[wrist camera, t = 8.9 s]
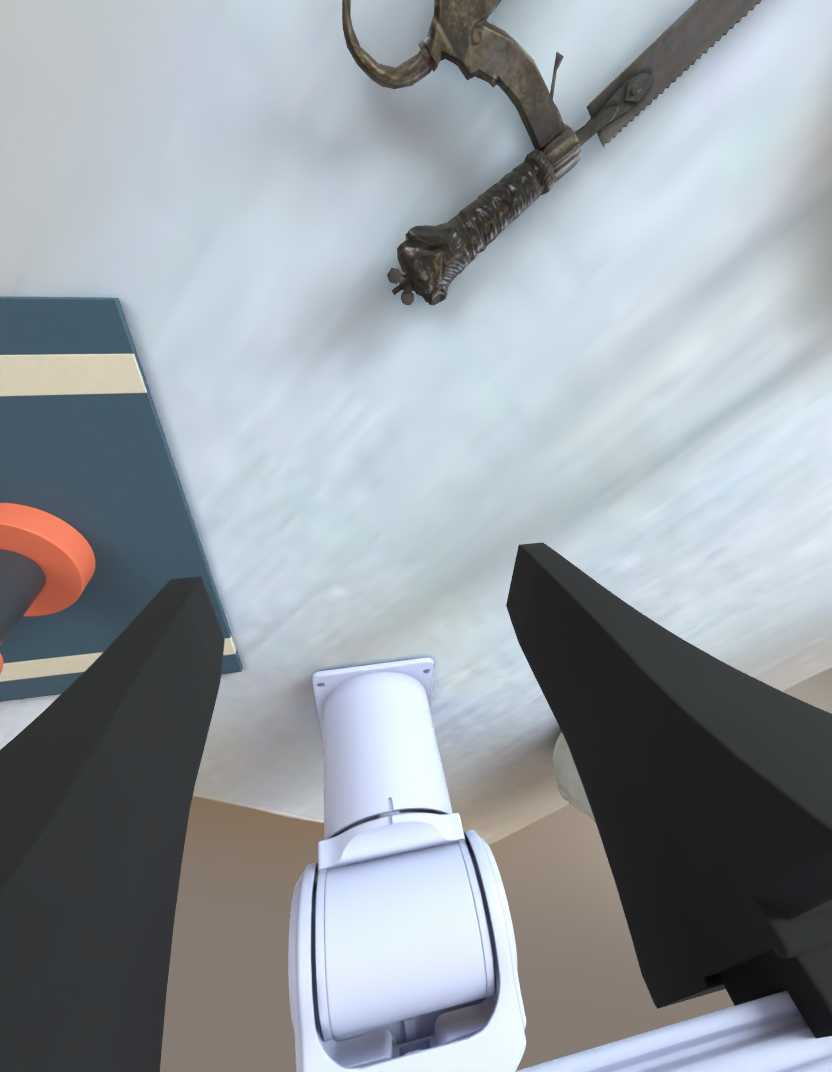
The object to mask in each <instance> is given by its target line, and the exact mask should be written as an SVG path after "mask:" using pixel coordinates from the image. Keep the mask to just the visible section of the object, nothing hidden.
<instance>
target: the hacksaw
mask: <svg viewBox="0 0 832 1072" xmlns="http://www.w3.org/2000/svg"><path fill="white" fill-rule="evenodd" d="M500 1H501V0H435V9H434V17H433V20H432V23H431V26H430V30H429V33H428V36H427V38H425V39H424V40H423V41H422V42H421V43H419V44H418V45H419V47H420V48H421V50H420V51H419V53H418V54H417V55H415V56H414V57H412V58H411V59H409V60H407V61H406V62H404V63H402V64H401V65H399V66H397V67H396V68H394V67H390V66H386V65H382V64H378V63H377V62H376V61H375V60H374V59H373V58H372V57H371V56H370V55H369V54H368V53H367V52H366V51H365V50H363V49H362V48H361V47H360V45H359V42H358V40H357V38H356V35H355V33H354V30H353V27H352V22H351V17H350V3H351V0H342V21H343V31H344V35H345V39H346V44H347V48H348V49H349V51H350V53H351V55H352V56H353V58H354V60H355V62H356V63H357V65H358V66H359V67H360V68H361V69H362V70H363V71H364V72H365V73H366V74H367V75H368V76H369V77H370V78H371V79H372V80H373V81H375V82H376V83H378V84H379V85H381V86H382V87H387V88H392V89H397V88H402V87H407V86H412V85H414V84H415V83H416V82H418V81H419V80H421V79H422V78H423V77H425V76H426V75H428V74H429V73H430V72H431V71H432V70H433V71H435V69H436V68H437V66H438V64H439V62H440V60H443V59H447V60H449V61H451V62H453V63H454V64H456V65H457V66H458V67H459V68H460V70H461V71H462V73H463V75H464V76H465V78H466V79H467V80H469V79H470V78H472V77H474V76H476V77H478V78H480V79H482V80H485V81H487V82H489V83H490V85H491V86H492V87H494V86H495V85H496V84H497V85H499V86H500V88H501V89H502V90H503V91H504V92H505V93H506V94H507V96H508V97H509V98H510V100H511V101H512V102H513V104H514V105H515V107H516V108H517V110H518V112H519V115H520V117H521V119H522V121H523V123H524V125H525V128H526V130H527V132H528V134H529V136H530V139H531V141H532V143H533V145H534V148H535V150H533V151H532V152H531V153H529V154H528V155H527V156H526V158H525V161H524V162H523V163H522V164H520V165H519V166H517V167H516V168H514V169H513V171H512V172H510V173H508V174H506V175H505V176H504V177H503V178H502V179H501V180H500V181H499V182H498V183H496V184H494V185H493V186H492V187H491V188H489V189H488V190H487V191H486V192H485V193H484V194H482V195H480V196H479V198H478V199H477V200H475V201H474V202H472V203H471V204H469V205H468V206H466V207H465V208H464V209H463V210H461V211H460V213H459V214H458V215H457V216H456V217H454V218H453V219H451V220H450V221H449V222H447V223H444V224H441V225H437V226H416V227H414V228H412V229H410V230H409V231H408V233H407V234H406V241H405V242H403V243H402V244H400V246H399V247H398V248H397V255H398V261H399V263H400V266H401V268H402V271H403V272H404V273H403V274H402V273H400V272H399V270H398V269H394V268H391V270H390V271H389V273H388V275H387V276H388V279H389V281H390V282H392V283H395V284H397V283H398V282H399V283H400V285H398V286H397V287H396V288H394V289H393V290H392V292H393V294H394V295H395V294H396V293H398V292H399V291H401V290H402V289H403V290H404V292H403V293H402V295H401V300H402V303H404V304H405V305H410V304H411V303H412V302H413V301H414V295H413V293H412V292H411V291H415V292H416V294H418V295H420V296H422V297H423V298H424V299H425V301H426V302H428V303H429V304H430V305H435V304H437V303H439V302H441V301H443V300H444V299H446V296H447V290H448V286H449V284H450V283H451V282H452V280H453V279H454V278H455V277H456V276H457V275H458V274H460V273H461V272H462V271H463V270H464V268H465V267H466V266H467V265H468V264H469V263H470V262H471V261H472V260H473V259H475V257H476V256H477V254H478V253H480V252H482V251H484V250H485V248H486V246H487V245H488V244H489V243H491V242H492V241H493V240H494V239H495V238H496V237H497V235H498V234H499V233H500V232H501V231H503V230H504V229H505V228H506V226H507V225H508V224H509V223H511V222H512V221H513V220H514V219H516V218H517V217H518V216H519V215H520V214H521V213H522V212H523V211H524V210H525V209H526V208H527V207H528V206H530V205H531V204H532V203H533V202H534V201H535V200H536V199H537V198H538V197H539V196H540V195H543V194H545V193H547V192H548V191H549V190H550V189H551V187H552V185H553V183H554V182H556V181H557V180H559V179H560V178H562V177H563V176H564V175H565V174H566V173H567V172H568V171H570V170H571V169H572V168H573V167H574V166H575V165H576V164H577V162H578V161H579V159H580V158H581V146H582V145H583V144H584V143H585V142H586V141H587V140H588V139H590V138H591V137H592V136H593V135H594V134H595V133H596V132H597V133H598V136H599V138H600V140H601V143H602V145H603V148H604V146H605V143H609V142H610V140H611V138H612V137H615V136H616V134H617V132H621V130H622V128H623V127H626V126H627V125H628V122H629V121H633V119H634V117H635V116H638V115H639V113H640V111H641V110H645V108H646V105H650V104H651V102H652V100H653V99H657V97H658V95H659V94H663V92H664V89H665V88H669V86H670V84H671V82H675V81H676V79H677V77H679V76H681V75H682V73H683V71H687V70H688V69H689V67H690V65H694V63H695V61H696V59H700V58H701V56H702V54H703V53H707V51H708V49H709V47H713V46H714V44H715V42H716V41H720V39H721V37H722V35H726V34H727V32H728V30H729V29H733V27H734V25H735V23H739V22H740V20H741V18H742V17H744V16H747V14H748V12H749V10H753V9H754V7H755V5H756V4H760V2H761V0H697V1H696V2H695V3H694V4H693V5H692V6H691V7H690V8H689V9H688V10H687V11H686V12H685V13H684V14H683V15H682V16H681V17H680V18H679V19H678V20H677V21H676V22H674V23H673V24H672V25H671V26H670V27H669V28H668V29H667V30H666V31H665V32H664V33H663V34H662V35H661V36H660V37H659V38H658V39H657V40H656V41H655V42H654V43H653V44H652V45H650V46H649V47H648V48H647V49H646V50H645V51H644V52H643V53H642V54H641V55H640V56H639V57H638V58H637V59H636V60H635V61H634V62H633V63H632V64H631V65H630V66H629V67H628V68H626V69H625V70H624V71H623V72H622V73H621V74H620V75H619V76H618V77H617V78H616V79H615V80H614V81H613V82H612V83H611V84H610V85H609V86H608V87H607V88H606V89H605V90H604V91H602V92H601V93H600V94H599V95H598V96H597V97H596V98H595V99H594V100H593V101H592V102H591V103H590V104H589V105H588V106H587V109H588V111H589V114H590V116H591V119H590V120H589V121H588V122H587V123H586V125H584V126H583V127H582V128H580V129H579V130H577V131H576V132H575V133H574V132H573V130H572V129H571V128H570V127H569V126H568V125H567V124H565V125H564V123H563V121H562V118H561V116H560V113H559V111H558V109H557V106H556V105H555V104H554V102H553V93H554V86H555V79H556V71H557V69H558V67H559V65H560V63H561V61H562V59H563V56H562V55H561V54H559V53H558V52H557V53H556V59H555V66H554V72H553V78H552V85H551V91H550V94H549V92H548V89H547V86H546V84H545V82H544V80H543V78H542V76H541V74H540V72H539V70H538V68H537V66H536V64H535V62H534V60H533V59H532V58H531V57H530V56H529V55H528V53H527V52H526V51H525V50H524V49H523V48H522V47H521V46H520V45H519V44H518V43H517V42H516V41H515V40H514V39H513V38H512V37H511V36H510V35H508V34H507V33H506V32H505V31H503V30H502V29H500V28H498V27H496V26H494V25H492V24H490V23H488V22H486V21H487V17H488V16H489V15H490V14H491V12H492V11H493V10H494V9H495V7H496V6H497V5H498V4H499V2H500Z"/></svg>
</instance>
